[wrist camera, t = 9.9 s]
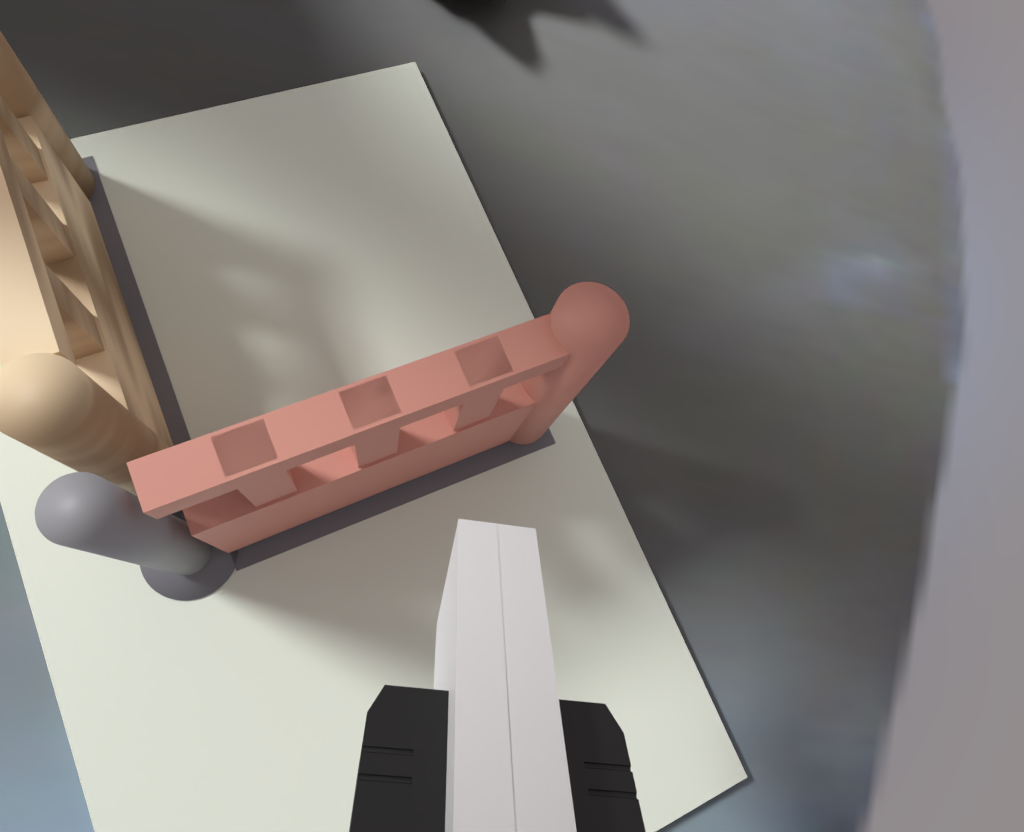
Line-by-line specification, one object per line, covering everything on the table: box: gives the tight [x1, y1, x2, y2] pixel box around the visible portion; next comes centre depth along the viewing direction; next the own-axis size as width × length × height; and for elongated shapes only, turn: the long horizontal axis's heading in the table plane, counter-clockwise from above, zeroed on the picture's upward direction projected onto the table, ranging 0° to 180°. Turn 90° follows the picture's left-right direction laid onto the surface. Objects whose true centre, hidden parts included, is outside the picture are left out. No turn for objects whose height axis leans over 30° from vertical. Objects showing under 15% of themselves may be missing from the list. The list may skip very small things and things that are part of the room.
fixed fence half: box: [0, 31, 173, 496], centre depth 21 cm, size 14×2×10 cm, turn 24°
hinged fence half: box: [35, 282, 630, 575], centre depth 21 cm, size 14×2×10 cm, turn 114°
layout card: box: [0, 62, 747, 832], centre depth 26 cm, size 32×20×1 cm, turn 24°
